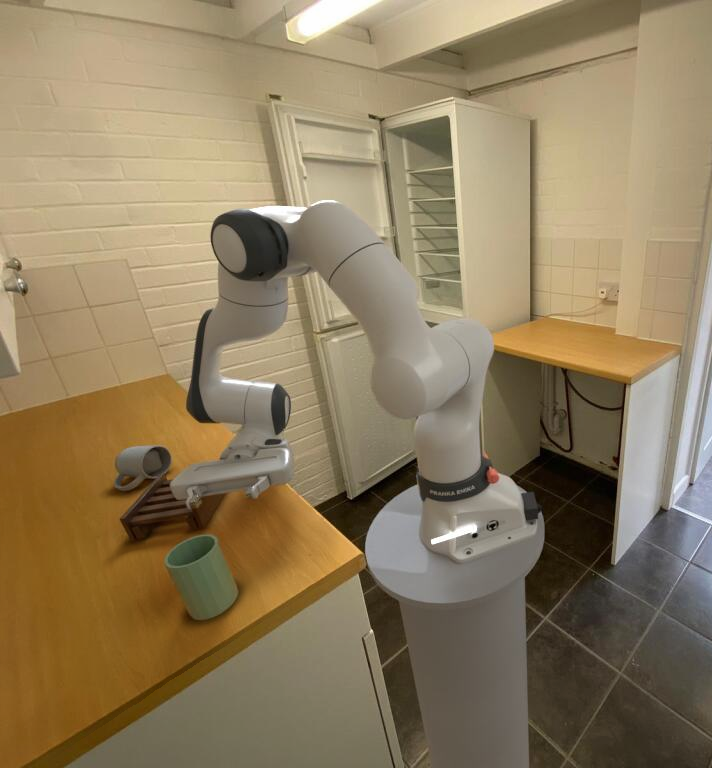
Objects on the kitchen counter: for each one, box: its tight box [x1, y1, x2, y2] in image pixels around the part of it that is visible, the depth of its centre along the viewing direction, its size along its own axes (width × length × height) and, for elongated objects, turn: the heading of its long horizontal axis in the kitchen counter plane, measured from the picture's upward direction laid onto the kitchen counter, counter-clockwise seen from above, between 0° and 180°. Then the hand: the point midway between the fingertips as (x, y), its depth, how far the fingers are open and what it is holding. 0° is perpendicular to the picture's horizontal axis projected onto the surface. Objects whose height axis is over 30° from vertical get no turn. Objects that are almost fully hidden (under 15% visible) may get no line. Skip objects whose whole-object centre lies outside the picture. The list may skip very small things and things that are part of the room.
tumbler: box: [163, 533, 239, 621], centre depth 65 cm, size 7×7×11 cm
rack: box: [119, 473, 226, 542], centre depth 87 cm, size 13×15×6 cm
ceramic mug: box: [113, 444, 173, 492], centre depth 98 cm, size 11×8×8 cm
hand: (221, 500), depth 74 cm, fingers open, 8 cm apart
